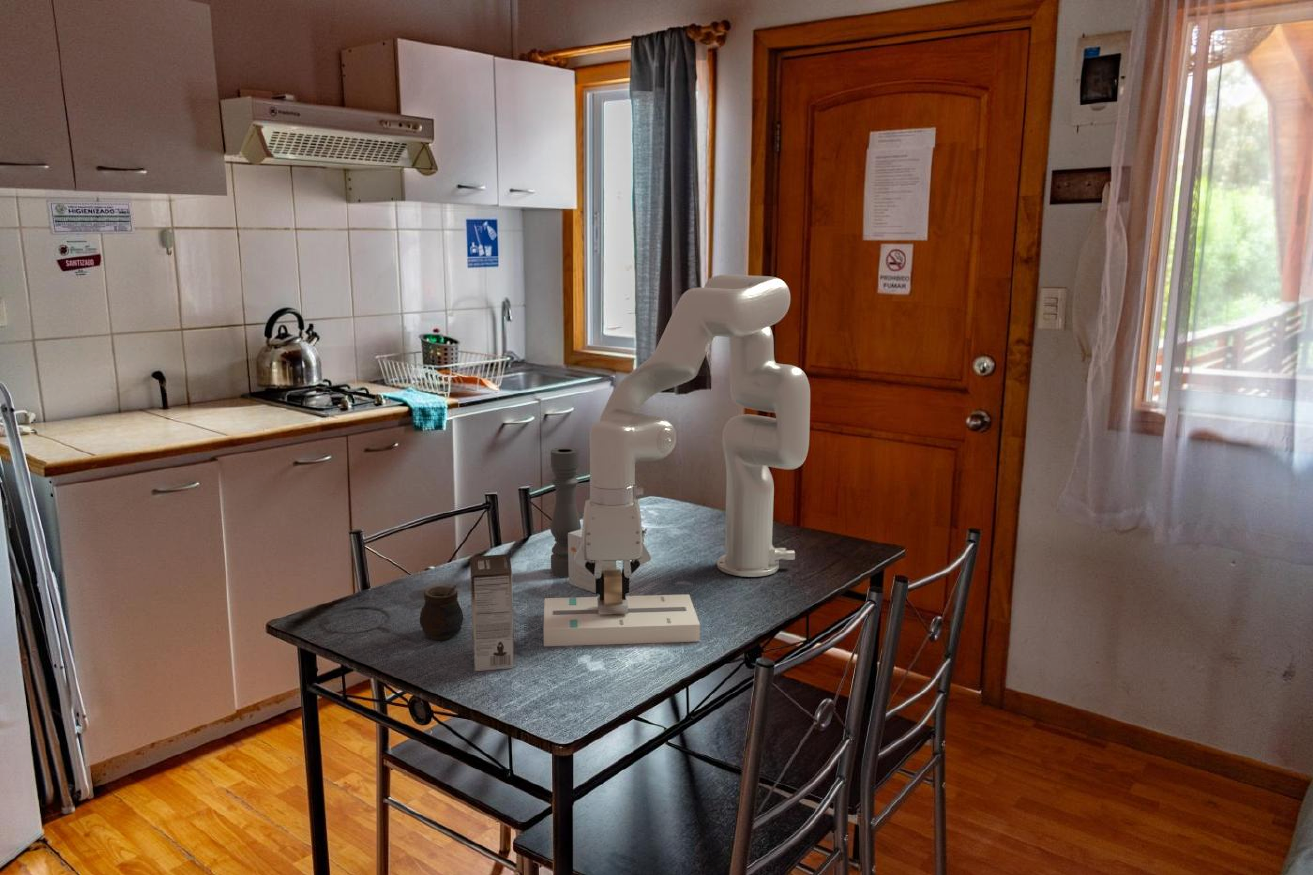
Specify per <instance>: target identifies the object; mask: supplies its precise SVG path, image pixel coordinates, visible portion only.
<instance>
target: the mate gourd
mask: <svg viewBox="0 0 1313 875" xmlns="http://www.w3.org/2000/svg"><path fill="white" fill-rule="evenodd" d="M456 587H457V584H455V585H453V586H452V585H435V586H430V587H427V588H426V589H425V590H424V591H423V595H424V596H423V598H424V605H423V606H422V607H421V611H420V613H419V614H420V615H419V624H420V627H421V628H422V632H423V634H425V636H426V637H429V639H431V640H435V641H445V640H449V639H452V638H454V637H455V636H456V635H457V634H458V633H460V632H461V630H462V626H463V622H464V613H463V610H462V608H461V605H460V603H459V600H458V597H459V595H458V592H459V591H458V589H457V588H456Z"/></svg>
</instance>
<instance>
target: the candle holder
mask: <svg viewBox="0 0 1313 875" xmlns="http://www.w3.org/2000/svg"><path fill="white" fill-rule="evenodd" d="M550 467H551V470H552V473H553V475H554V477H555V478H553V479H552V480H551V481H552V482H551V484H552V485H553V486H554V488H555V503H554V509H553V513H552V517H551V521H550V526H549V527H550V534H551V535H552V536H553V538H554V541H555V543H554V545H553V546H552V547H551V555H550V574H551V575H552V576H554V577H558V578H569V567H568V533H569V532H573V531H576V530H580V529H582V524H581V521H580V516H579V512H578V509H577V505H576V504H577V503H576V487H577V486H578V485H579V479H578V478H576V476H577V473H578V471H579V468H580V449H578V448H575V447H556V448H552V449H550Z"/></svg>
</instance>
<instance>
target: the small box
mask: <svg viewBox="0 0 1313 875" xmlns="http://www.w3.org/2000/svg"><path fill="white" fill-rule="evenodd" d="M582 530H583V528H581V529H580V530H576V531H573V532H569V533H568V567H569V577H568V584H569V585H570V586H575V587H577V588H580V589H583V590H585V591H588V592H591V593H593V594H596V584H595V576H594V575H593V574H592V573H591V572H590V571H589V570H587V569H586V568H585V567H583V566H581V565H579V564H577V563H575V562H574V556H575V555H576V553H577V551H578V549H579V547H580V545H581V544H582ZM592 562H593V563H594V561H592ZM603 569H617V561H603V564H602V572H603Z"/></svg>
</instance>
